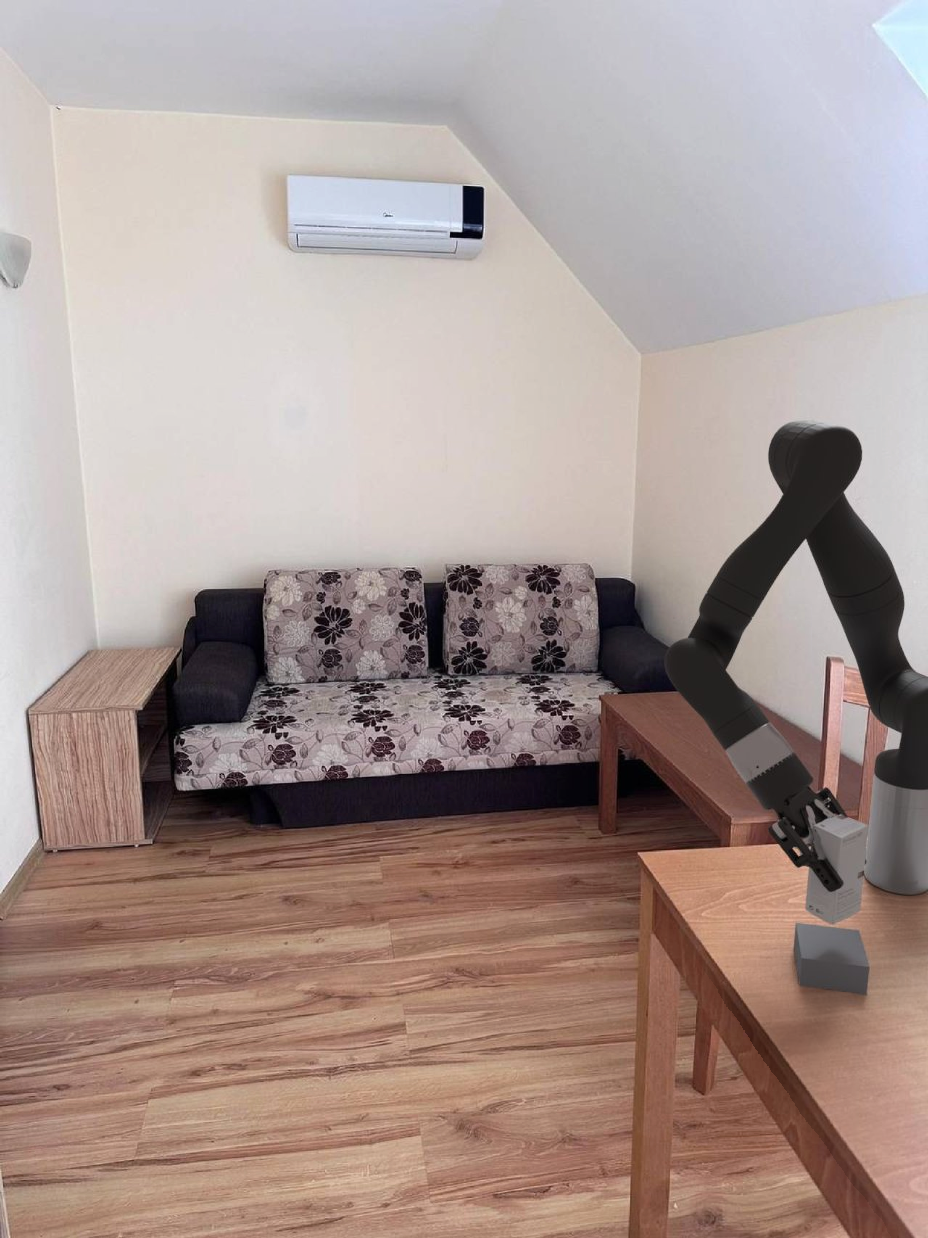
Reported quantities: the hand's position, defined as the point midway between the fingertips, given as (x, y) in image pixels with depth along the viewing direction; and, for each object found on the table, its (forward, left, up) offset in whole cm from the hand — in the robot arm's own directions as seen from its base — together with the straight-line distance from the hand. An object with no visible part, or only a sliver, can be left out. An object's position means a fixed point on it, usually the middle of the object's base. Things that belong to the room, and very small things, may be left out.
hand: (849, 877), depth 112 cm
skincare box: (-1, -1, -6) cm, 6 cm away
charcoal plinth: (-1, -1, -14) cm, 14 cm away
